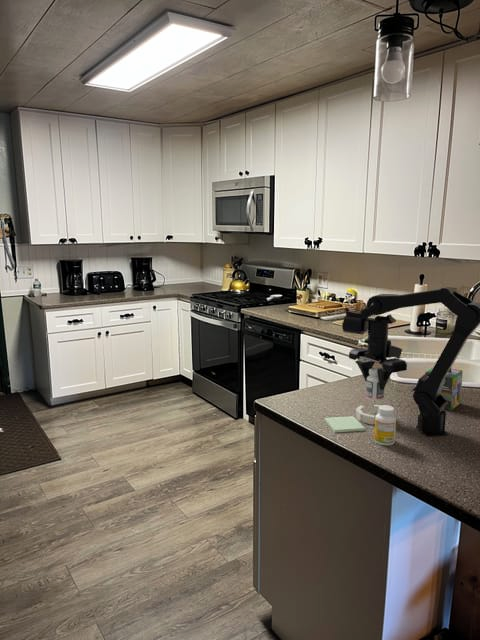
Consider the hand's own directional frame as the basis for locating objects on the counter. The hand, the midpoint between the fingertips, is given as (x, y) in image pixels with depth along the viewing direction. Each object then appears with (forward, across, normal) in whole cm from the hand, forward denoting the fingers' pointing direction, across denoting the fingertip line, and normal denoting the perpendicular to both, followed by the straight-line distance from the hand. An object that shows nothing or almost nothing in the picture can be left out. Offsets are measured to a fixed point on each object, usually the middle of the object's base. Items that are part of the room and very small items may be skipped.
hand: (375, 387), depth 145 cm
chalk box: (+10, -2, -28) cm, 30 cm away
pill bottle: (+4, 0, 0) cm, 4 cm away
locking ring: (+10, 0, 0) cm, 10 cm away
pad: (+10, 0, +12) cm, 15 cm away
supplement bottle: (+10, -14, +9) cm, 20 cm away
